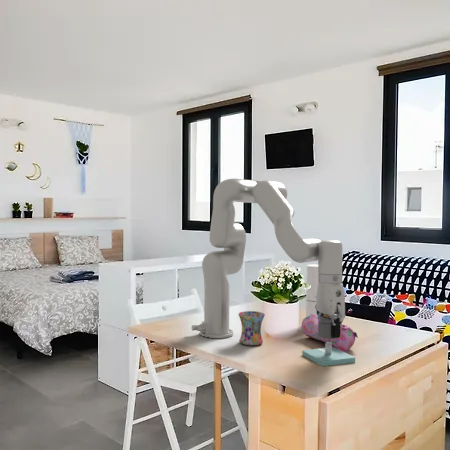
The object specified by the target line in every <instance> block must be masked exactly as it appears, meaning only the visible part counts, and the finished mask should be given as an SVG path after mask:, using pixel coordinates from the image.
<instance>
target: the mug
mask: <svg viewBox="0 0 450 450" xmlns="http://www.w3.org/2000/svg"><path fill="white" fill-rule="evenodd" d="M265 315H266V314H265V313H264V312H261V311H257V310H256V311H254V310H250V311H249V310H246V311H240V312H239V313H238V317H239V319H240V322H241V335H240V337H239V340H238V341H239V343H241V344H242V345H244V346H258V345H261V344H263V342H264V340H263V337H262V324H263V320H264V318H265Z"/></svg>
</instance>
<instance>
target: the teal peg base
mask: <svg viewBox="0 0 450 450" xmlns="http://www.w3.org/2000/svg"><path fill="white" fill-rule="evenodd" d="M324 343H325V342H324ZM324 345H325V346H324V347H322V348H319V347H318V348H313V349H305V350H303V349H302V350H301V351H302V356H304V357H305V358H307V359H309V360H311V361H312V362H314V363H316V364H318V365H320V366H322V367H328V365H329V366H337V365H343V364H351V363H352V364H353V363H356V357H355V356H353V355H350V354H349V353H347V352H346V351H341V350H339V349H337V348H335V347H333V346H332V343H330V342H326V343H325V344H324Z"/></svg>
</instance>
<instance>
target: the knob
mask: <svg viewBox="0 0 450 450" xmlns="http://www.w3.org/2000/svg"><path fill="white" fill-rule="evenodd" d="M334 318H335V320H336V319H337V317H334ZM331 325H332V321H331V316H329V315H326V314H325V315H324V316H320V317H319V328H318V336H319V337H322V338H327V339H337V338H331Z"/></svg>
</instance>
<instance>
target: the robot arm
mask: <svg viewBox="0 0 450 450" xmlns="http://www.w3.org/2000/svg"><path fill="white" fill-rule="evenodd" d="M287 198H288V190H287V188H286V187H285V185H284V184H283V183H281V182H280V181H275V180H273V181H272V180H254V179H243V178H228V179H224V180H222V181H221V182H219V183H218V184H217V185H216V187H215V189H214V192H213V198H212V214H211V222H210V230H209V243H210V245H211V246H213V247H214V248H218V249H223V250H215V251H211V252H209V253H207V254H206V255H205V256H204V257H203V259H202V261H201V262H202V263H201V267H202V274H203V281H204V283H203V285H204V289H203V290H204V291H203V293H204V298H203V299H204V302H203V303H204V305H203V306H204V311H203V318H204V319H203V321H201V323H200V324H198V325H197V324H194V325H193V324H192V325H191V331H197V332H199V335H200V336H201V335H202V336H201V337H203V336H205V337H204V338H207V337H209V338H208V339H227V338H230V337H232V336H233V335H234V331H233V329H230V294H231V293H230V283H229V280H228V277H227V276H230V275H234V274H236V273H238V272H239V271H241V269H242V268H243V263H244V256H245V249H246V242H247V232H246V230H245V229H244V226H242V224H240V223H238V222H235V220H236V219H235V218H236V208H235V206H234V203H245V204H247V203H249V204H250V203H251V204H258V206H259V207H260V209H261V210H262V211H263V213H264V214H265V215H266V217H267V218H268V219H269V221H270V222H271V223H272V225H273V228H274V233H275V237H276V239H277V240H276V241H277V242H278V244H279V245H280V246H281V248H282V249H283V251H284V253H286V255H287V256H288V257H289V258H290V260H292V261H293V262H295V263H299V264H304V263H310V262H317V261H318V263H317V265H318V287H317V298H316V305H315V309H316V311H317V315H318V328H319V317H320V316H324V315H325V314H326V315H329V316H331V321H332V325H331V338H339V337H340V327H341V325H343V324H342V323H343V322H344V319H345V318H346V302H345V291H344V290H345V289H344V284H343V243H342V241H340V240H333V239H331V240H330V239H329V240H328V239H326V240H322V239H319V238H302V236H300V234H299V233H298V231H296V229H295V227H294V225H293V222H292V219H293V218H294V216H295V210H294V208H293V207H292V206H291V204H289V202H288V200H287ZM334 317H337V319H336V320H335V318H334Z"/></svg>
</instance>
